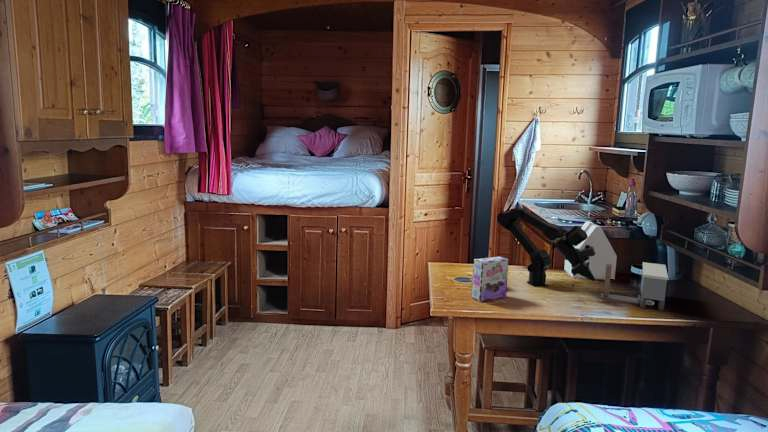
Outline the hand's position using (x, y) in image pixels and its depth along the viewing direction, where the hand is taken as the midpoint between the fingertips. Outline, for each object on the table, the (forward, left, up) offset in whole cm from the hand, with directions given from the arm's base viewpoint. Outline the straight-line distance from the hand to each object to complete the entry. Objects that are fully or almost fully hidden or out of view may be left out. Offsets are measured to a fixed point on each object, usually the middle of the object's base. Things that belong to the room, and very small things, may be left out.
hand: (594, 280), depth 219 cm
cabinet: (+20, -11, -7) cm, 23 cm away
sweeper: (+8, -7, -7) cm, 13 cm away
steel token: (+16, -14, -7) cm, 22 cm away
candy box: (-46, +4, -7) cm, 46 cm away
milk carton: (+19, +30, -7) cm, 36 cm away
